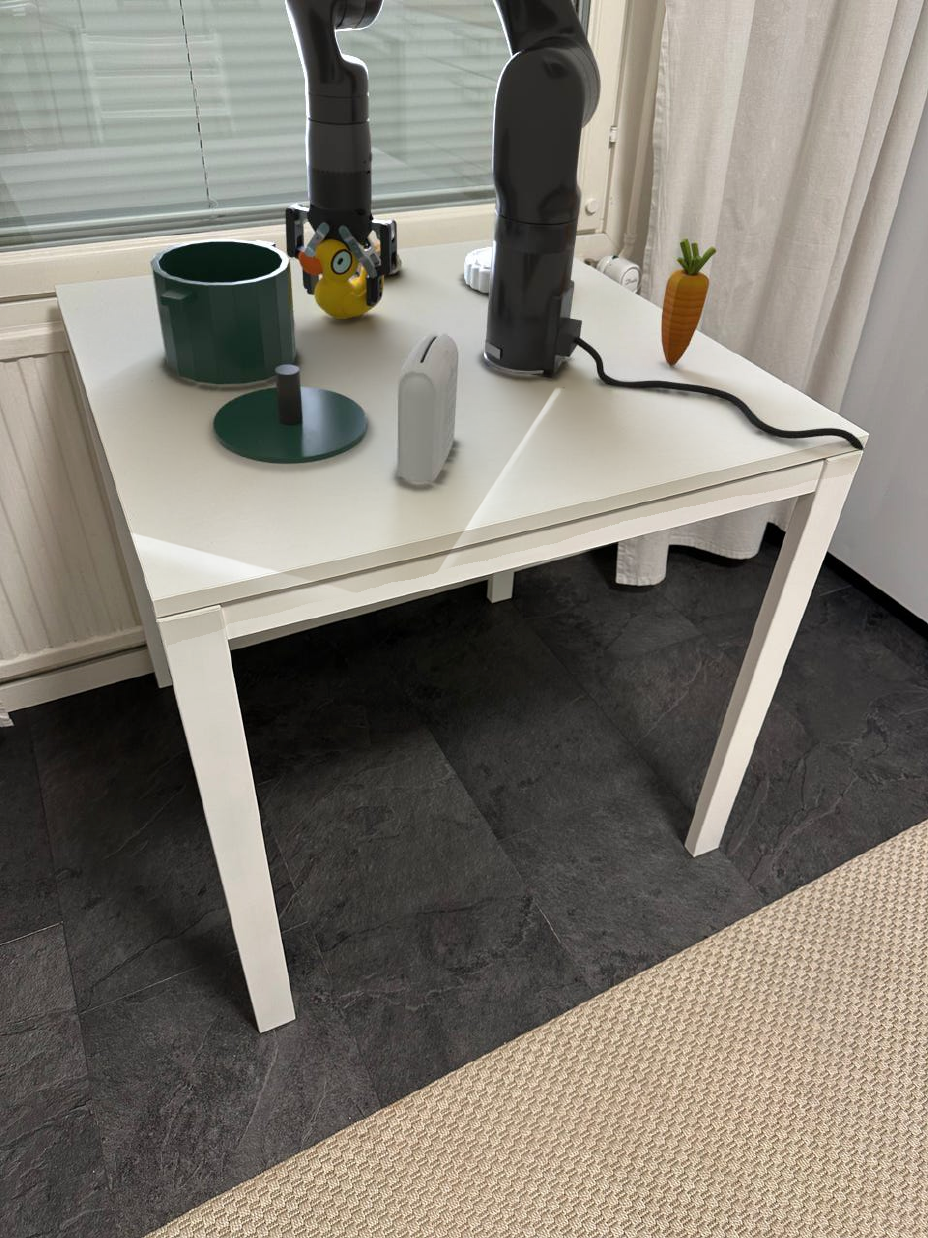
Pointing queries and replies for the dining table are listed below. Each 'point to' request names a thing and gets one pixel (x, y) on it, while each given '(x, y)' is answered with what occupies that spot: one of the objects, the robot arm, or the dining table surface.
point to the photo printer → (427, 407)
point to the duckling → (337, 280)
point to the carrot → (684, 301)
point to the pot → (225, 310)
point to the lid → (290, 422)
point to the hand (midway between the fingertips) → (342, 298)
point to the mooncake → (478, 269)
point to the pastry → (377, 246)
